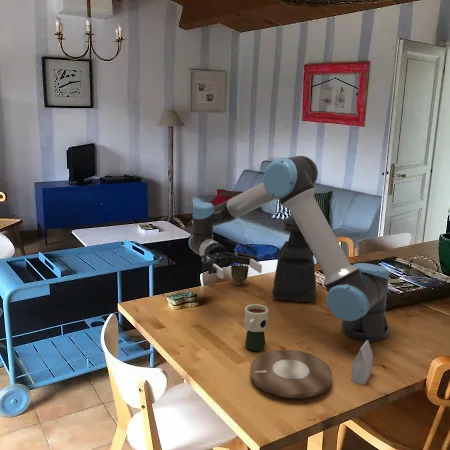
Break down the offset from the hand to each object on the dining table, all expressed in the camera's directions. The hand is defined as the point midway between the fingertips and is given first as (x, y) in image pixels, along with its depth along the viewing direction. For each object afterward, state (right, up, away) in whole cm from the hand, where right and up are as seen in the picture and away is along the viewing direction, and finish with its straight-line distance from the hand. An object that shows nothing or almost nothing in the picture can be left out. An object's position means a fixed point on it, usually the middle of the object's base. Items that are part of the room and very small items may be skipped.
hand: (242, 271), depth 154 cm
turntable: (+13, -26, -21) cm, 36 cm away
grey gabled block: (+33, -28, -18) cm, 47 cm away
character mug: (+4, -23, -3) cm, 24 cm away
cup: (+1, -10, +49) cm, 50 cm away
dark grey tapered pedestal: (+22, -13, +39) cm, 47 cm away
